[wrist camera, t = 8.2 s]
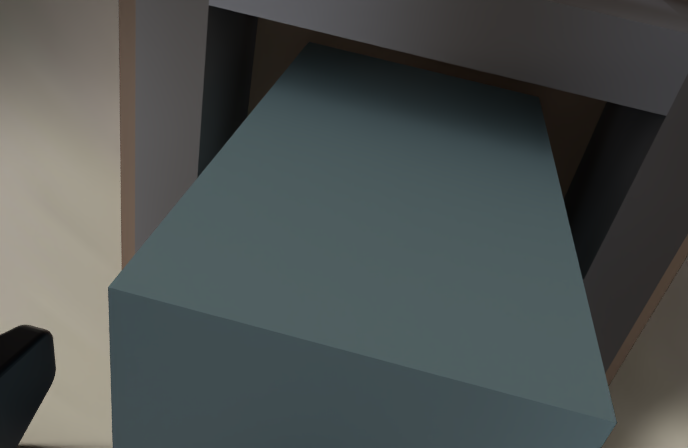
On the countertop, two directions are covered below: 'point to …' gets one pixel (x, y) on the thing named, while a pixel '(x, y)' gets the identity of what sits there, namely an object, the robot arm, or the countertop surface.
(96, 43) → the countertop surface
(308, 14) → the socket board
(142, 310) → the cabinet block
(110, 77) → the countertop surface
